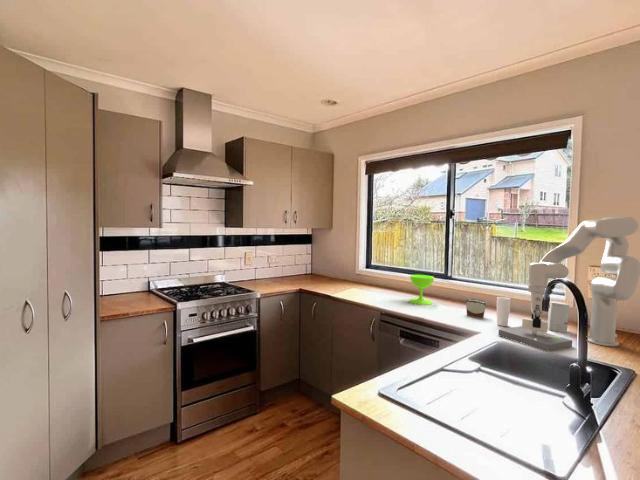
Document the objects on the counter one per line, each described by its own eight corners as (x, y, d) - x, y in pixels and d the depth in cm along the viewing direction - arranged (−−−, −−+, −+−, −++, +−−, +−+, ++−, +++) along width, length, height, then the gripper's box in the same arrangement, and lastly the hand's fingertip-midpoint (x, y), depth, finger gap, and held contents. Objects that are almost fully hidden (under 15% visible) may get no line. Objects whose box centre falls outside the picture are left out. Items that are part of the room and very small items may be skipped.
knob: (521, 332, 172) (522, 318, 172) (522, 331, 174) (523, 317, 174) (559, 339, 163) (560, 325, 162) (559, 338, 165) (560, 324, 165)
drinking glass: (496, 322, 202) (498, 296, 201) (510, 325, 198) (512, 298, 197) (493, 325, 197) (495, 297, 196) (507, 327, 192) (509, 299, 192)
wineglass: (437, 303, 248) (439, 277, 248) (422, 305, 239) (423, 278, 239) (419, 299, 261) (420, 274, 261) (404, 300, 252) (405, 275, 252)
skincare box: (549, 330, 190) (551, 302, 190) (546, 327, 196) (548, 300, 195) (567, 332, 187) (569, 304, 187) (564, 330, 193) (566, 302, 192)
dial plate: (521, 331, 185) (522, 325, 185) (572, 346, 164) (572, 340, 164) (498, 335, 177) (498, 329, 177) (548, 351, 156) (548, 344, 155)
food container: (489, 317, 213) (490, 300, 213) (485, 319, 209) (486, 302, 209) (468, 313, 222) (469, 297, 221) (464, 315, 217) (465, 298, 217)
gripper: (548, 292, 160) (546, 330, 161) (545, 287, 175) (543, 322, 176) (529, 290, 163) (527, 328, 164) (527, 285, 179) (525, 319, 179)
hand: (535, 325), depth 170 cm, fingers open, 9 cm apart
